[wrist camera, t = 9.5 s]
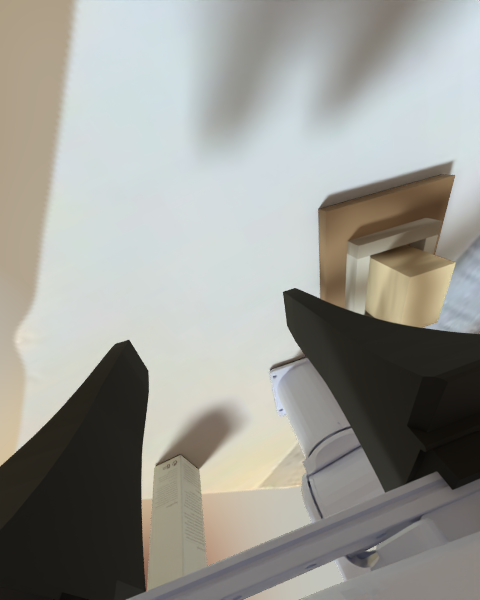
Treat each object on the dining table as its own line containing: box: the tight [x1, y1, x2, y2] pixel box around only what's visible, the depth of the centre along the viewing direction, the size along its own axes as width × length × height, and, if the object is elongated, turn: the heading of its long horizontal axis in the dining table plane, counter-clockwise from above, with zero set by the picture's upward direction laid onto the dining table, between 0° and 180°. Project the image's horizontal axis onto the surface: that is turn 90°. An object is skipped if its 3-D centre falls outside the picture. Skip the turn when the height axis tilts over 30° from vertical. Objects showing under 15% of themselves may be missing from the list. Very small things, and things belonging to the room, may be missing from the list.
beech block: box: [365, 245, 456, 328], centre depth 22 cm, size 4×6×5 cm, turn 12°
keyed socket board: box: [318, 175, 455, 318], centre depth 24 cm, size 16×12×3 cm
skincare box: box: [147, 455, 207, 591], centre depth 30 cm, size 6×4×12 cm
